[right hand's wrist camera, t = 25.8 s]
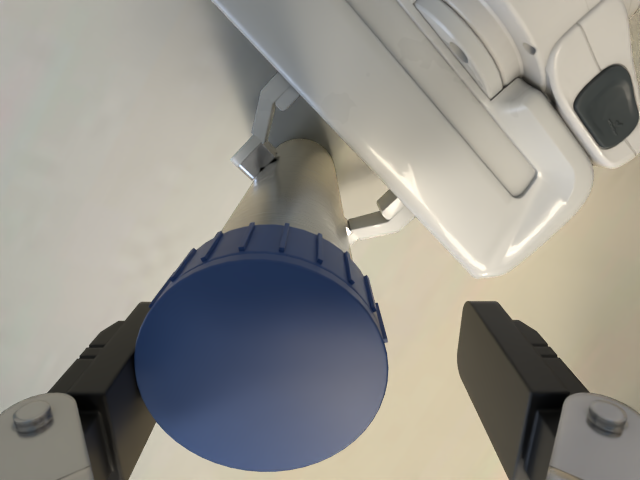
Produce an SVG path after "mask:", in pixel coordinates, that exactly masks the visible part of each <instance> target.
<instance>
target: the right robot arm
mask: <svg viewBox="0 0 640 480" xmlns="http://www.w3.org/2000/svg"><path fill="white" fill-rule="evenodd" d="M150 303H151V302H141V303H139V304H138V305H137V307H136V308H135V309H134V310H133V311H132V313H131V314H130V315H129V316H128V318H127V319H126V320H125V321H118V322H116V323H114V324H113V325H111V326H110V327H108V328H106V329H105V330H103V331H101V332H100V333H99V334H98V336H97V337H96V338H95V339H94V340H93V341H92V342H91V344H90V345H89V348H86V349H85V350H84V352H83V353H82V354H81V355H80V358H79V359H77V360H76V361H75V362H74V363H73V364H72V365H71V366H70V368H69V369H68V370H67V371H66V372H65V373H64V374H63V376H62V377H61V378H60V379H59V380H58V381H57V382H56V384H55V385H54V386H53V387H52V388H51V389H50V390H49V392H48V393H45V394H40V395H36V396H33V397H30V398H27V399H25V400H22V401H20V402H18V403H16V404H14V405H13V406H11V407H9V408H8V409H6V410H5V411H3V412H2V413H1V414H0V480H128V479H129V477H130V475H131V473H132V471H133V469H134V467H135V465H136V463H137V461H138V459H139V457H140V454H141V452H142V450H143V448H144V446H145V444H146V442H147V440H148V438H149V436H150V434H151V432H152V430H153V427H154V425H155V423H156V421H155V419H154V418H153V416H152V415H151V414H150V412H149V411H148V409H147V407H146V405H145V403H144V401H143V399H142V397H141V394H140V391H139V388H138V386H137V381H136V376H135V369H134V353H135V346H136V340H137V337H138V333H139V330H140V327H141V325H142V323H143V321H144V319H145V317H146V315H147V313H148V312H149V311H150V309H151V308H149V305H150ZM457 364H458V370H459V374H460V377H461V379H462V382H463V384H464V386H465V388H466V390H467V392H468V394H469V396H470V398H471V401H472V403H473V405H474V407H475V409H476V411H477V413H478V415H479V417H480V419H481V422H482V424H483V426H484V428H485V430H486V432H487V434H488V436H489V438H490V441H491V443H492V445H493V447H494V449H495V451H496V453H497V455H498V457H499V460H500V462H501V464H502V466H503V468H504V470H505V472H506V474H507V476H508V478H509V480H640V414H639V413H638V412H637V411H635V410H634V409H632V408H631V407H629V406H627V405H626V404H624V403H622V402H620V401H618V400H615V399H613V398H610V397H607V396H604V395H600V394H595V393H590V392H589V391H588V390H587V389H586V388H585V387H584V385H583V384H582V383H581V382H580V381H579V380H578V379H577V377H576V376H575V375H574V374H573V373H572V372H571V370H570V369H569V368H568V367H567V366H566V365H565V364H564V362H563V361H562V360H561V359H560V358H557V354H556V353H555V352H554V351H553V350H552V348H551V347H548V344H547V343H546V342H545V340H544V339H543V338H542V337H541V336H540V335H539V333H538V332H537V331H535V330H534V329H532V328H531V327H529V326H527V325H526V324H524V323H522V322H521V321H519V320H512V319H511V318H510V317H509V315H508V314H507V313H506V312H505V310H504V309H503V308H502V307H501V305H500V304H499V303H498V302H496V301H467V302H466V303H465V304H464V307H463V312H462V320H461V328H460V335H459V343H458V351H457Z"/></svg>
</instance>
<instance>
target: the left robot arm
mask: <svg viewBox="0 0 640 480" xmlns="http://www.w3.org/2000/svg"><path fill="white" fill-rule="evenodd" d="M211 1H212V2H213V3H214V4H215V5H216V6H217V7H218V8H219V9H220V10H221V11H222V13H223V14H224V15H225V16H226V17H227V18H228V19H229V20H230V21H231V22H232V23H233V24H234V25H235V26H236V27H237V28H238V29H239V30H240V32H241V33H242V34H243V35H244V36H245V37H246V38H247V39H248V40H249V41H250V42H251V43H252V44H253V45H254V46H255V47H256V48H257V50H258V51H259V52H260V53H261V54H262V55H263V56H264V57H265V58H266V59H267V60H268V61H269V62H270V63H271V64H272V65H273V66H274V67H275V69H276V70H277V71H278V72H277V73H276V74H275V76H274V77H273V78H272V79H271V80H270V81H269V82H268V83H267V84H266V85H265V86H264V87H263V89H262V90H261V91H260V96H259V100H258V105H257V110H256V114H255V119H254V124H253V128H252V134H253V136H252V137H251V138H250V139H249V140H248V141H247V142H246V143H245V144H244V145H243V146H242V147H241V148H240V149H239V151H238V152H237V153H236V154H235V155H234V156H233V157H232V158H231V159H230V161H231V162H232V163H233V164H234V165H235V166H236V167H238V168H239V169H240V170H241V171H242V172H243V173H244V174H245V175H246V176H247V177H248V178H249V179H251V180H253V179H254V178H255V177H256V176H257V175H258V174H259V173H260V171H261V170H262V168H263V167H265V166H267V165H268V164H269V163H270V162H271V161H272V160H273V159H274V158H275V157H276V154H277V153H278V151H277V150H276V149H275V147H274V146H273V145H272V144H271V143H270V142H269V141H268V137H269V133H270V128H271V124H272V120H273V116H274V112H275V108H276V106H277V107H278V108H279V109H280V110H281V111H285V110H286V109H287V108H288V107H289V106H290V105H291V104H292V103H293V102H294V101H295V100H296V99H297V98H298V97H299V96H300V95H301V96H302V97H303V98H304V99H305V100H306V101H307V102H308V103H309V104H310V106H311V107H312V108H313V109H314V110H315V111H316V112H317V113H318V114H319V115H320V116H321V117H322V118H323V119H324V120H325V121H326V122H327V123H328V125H329V126H330V127H331V128H332V129H333V130H334V131H335V132H336V133H337V134H338V135H339V136H340V137H341V138H342V139H343V140H344V141H345V143H346V144H347V145H348V146H349V147H350V148H351V149H352V150H353V151H354V152H355V153H356V154H357V155H358V156H359V157H360V158H361V159H362V160H363V162H364V163H365V164H366V165H367V166H368V167H369V168H370V169H371V170H372V171H373V172H374V173H375V174H376V175H377V176H378V177H379V178H380V180H381V181H382V182H383V183H384V184H385V185H386V186H387V187H388V188H389V190H388V191H387V192H386V193H385V194H384V195H383V196H382V197H381V198H380V199H379V200H377V205H378V207H379V210H380V211H378V212H374V213H370V214H367V215H363V216H359V217H356V218H352V219H348V220H347V219H346V218H345V217H344V218H345V224H346V229H347V234H348V239H349V244H350V246H351V245H352V244H353V243H355V242H356V241H357V240H358V239H360V240H364V239H369V238H374V237H378V236H383V235H388V234H392V233H397V232H399V231H400V230H401V229H402V228H404V227H405V226H406V225H407V224H408V223H409V222H410V221H412V220H413V219H414V218H415V217H416V218H417V219H418V220H419V221H420V222H421V223H422V224H423V225H424V226H425V227H426V228H427V229H428V230H429V231H430V232H431V233H432V234H433V236H434V237H435V238H436V239H437V240H438V241H439V242H440V243H441V244H442V245H443V246H444V247H445V248H446V249H447V250H448V251H449V252H450V254H451V255H452V256H453V257H454V258H455V259H456V260H457V261H458V262H459V263H460V264H461V265H462V266H463V267H464V268H465V269H466V270H467V271H468V272H469V274H470V275H471V276H472V277H474V278H476V279H485V278H493V277H500V276H502V275H504V274H506V273H508V272H509V271H511V270H512V269H514V268H515V267H516V266H518V265H519V264H520V263H521V262H523V261H524V260H525V259H526V258H528V257H529V256H530V255H531V254H533V253H534V252H535V251H536V250H537V249H538V248H540V247H541V246H542V245H543V244H544V243H545V242H547V241H548V240H549V239H550V238H551V237H552V236H553V235H554V234H556V233H557V232H558V231H559V230H560V229H561V228H562V227H563V226H564V225H565V224H566V223H567V222H568V221H569V220H570V219H571V218H572V217H573V216H574V215H575V214H576V213H577V212H578V211H579V209H580V208H581V207H582V206H583V204H584V203H585V201H586V200H587V198H588V196H589V194H590V192H591V189H592V186H593V181H594V170H593V166H598V167H604V168H611V169H614V168H618V167H621V166H623V165H624V164H626V163H627V162H629V161H630V160H632V159H633V158H634V157H635V156H637V155H638V154H639V153H640V91H639V86H638V81H637V76H636V71H635V65H634V60H633V53H632V46H631V37H630V26H629V18H630V17H631V16H632V15H633V14H635V13H636V11H637V10H638V9H639V8H640V0H211ZM592 165H593V166H592Z"/></svg>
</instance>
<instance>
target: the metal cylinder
mask: <svg viewBox="0 0 640 480" xmlns="http://www.w3.org/2000/svg"><path fill="white" fill-rule="evenodd" d="M276 150H277V151H278V153H277V154H276V157H275V158H274V159H273V160H272V161H271V162H270V163H269V164H268V165H267V166H265V167H263V168H262V170H261V171H260V173H259V174H258V175H257V177H256V178H255V180H254V181H253V183H252V184H251V186H250V187H249V189H248V191H247V192H246V194H245V195H244V197H243V198H242V200H241V201H240V203H239V204H238V206H237V207H236V209H235V210H234V212H233V214H232V215H231V217H230V218H229V220H228V221H227V223H226V224H225V226H224V227H223V229H222V230H221V231H222V232H223V233H226V232H228V231H230V230H234V229H238V228H241V227H245V226H249V224H250V223H252V222H255V225H267V224H275V225H283V226H284V225H285V223H289V224H290V225H289V226H290V227H294V228H299V229H303V230H306V231H308V232H311V233H313V234H316V235H317V234H318V233H320V234H322V236H323V238H324V239H326V240H328V241H329V242H331V243H332V244H334V245H335V246H336V247H338V248H339V249H341V250H342V251H343V252H344V253H345V252H346V251H347V252H349V253H350V258H351V260H352V255H351V250H350V244H349V239H348V234H347V229H346V224H345V218H344V213H343V208H342V203H341V198H340V192H339V187H338V182H337V177H336V172H335V166H334V163H333V160H332V158H331V156H330V154H329V153H328V152H327V150H326V149H325V148H324V147H322V146H321V145H320V144H318V143H316V142H314V141H312V140H309V139H301V138H299V139H292V140H288V141H286V142H284V143H282V144H281V145H279V146H278V147H277V148H276ZM352 261H353V260H352Z"/></svg>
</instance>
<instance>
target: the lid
mask: <svg viewBox="0 0 640 480" xmlns="http://www.w3.org/2000/svg"><path fill="white" fill-rule="evenodd" d="M289 225H290V224H289V223H285V225H284V226H283V225H275V224H267V225H255V222H252V223H250V224H249V226H245V227H241V228H238V229H234V230H230V231H228V232H226V233H223V232H222V231H220V232H218V233H217V234H216V236H215V237H214V238H213V239H211V240H210V241H208V242H206V243H205V244H204V245H202V246H201V247H200V248H198V249H197V250H196V249H194V248H193V249H192V250H191V251H190V252H189V254H188V255H187V256H186V258H185V259H184V260H183V262H182V263H181V264H180V266H179V267H178V268H177V270H176V271H175V272H174V273H173V274H172V275H171V277H170V278H169V279H168V281H167V282H166V283H165V285H164V286H163V287H162V289H161V290H160V291H159V292H158V294H157V295H156V296H155V298H154V299H153V300H152V302H151V303H150V305H149V308H151V309H150V311H149V312H148V313H147V315H146V317H145V319H144V321H143V323H142V325H141V327H140V330H139V333H138V337H137V340H136V346H135V353H134V369H135V376H136V381H137V386H138V388H139V391H140V394H141V397H142V399H143V401H144V403H145V405H146V407H147V409H148V411H149V412H150V414H151V415H152V416H153V418H154V419H155V421H156V422H157V423H158V424H159V425H160V427H161V428H162V429H163V430H164V431H165V432H166V433H167V434H168V435H169V436H170V437H172V438H173V439H174V440H175V441H176V442H177V443H179V444H180V445H182V446H183V447H185V448H186V449H188V450H189V451H191V452H193V453H195V454H197V455H198V456H200V457H202V458H205V459H207V460H209V461H212V462H214V463H217V464H220V465H224V466H227V467H230V468H236V469H241V470H247V471H258V472H276V471H285V470H292V469H297V468H302V467H306V466H309V465H312V464H315V463H318V462H320V461H323V460H325V459H327V458H329V457H331V456H333V455H335V454H336V453H338V452H340V451H342V450H343V449H345V448H346V447H347V446H348V445H350V444H351V443H352V442H354V441H355V440H356V439H357V438H358V437H359V436H360V435H361V434H362V433H363V432H364V431H365V430H366V428H367V427H368V426H369V424H370V423H371V422H372V420H373V419H374V417H375V415H376V414H377V412H378V410H379V408H380V406H381V403H382V400H383V398H384V395H385V391H386V386H387V382H388V359H387V352H386V348H385V344H384V343H387V342H388V340H387V336H386V332H385V328H384V325H383V321H382V317H381V313H380V310H379V306H378V303H375V301H374V297H373V293H372V289H371V285H370V281H369V278H368V276H367V275H366V276H363V274H362V273H361V271H360V269H359V268H358V267H357V266H356V264H355V263H354V262H353V261H352V260H351V258H350V253H349V252H347V251H346V252H345V253H344V252H343V251H342V250H341V249H339V248H338V247H336V246H335V245H334V244H332V243H331V242H329V241H328V240H326V239H324V238H323V236H322V234H320V233H318V234H317V235H316V234H313V233H311V232H308V231H306V230H303V229H299V228H294V227H290V226H289Z"/></svg>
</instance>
